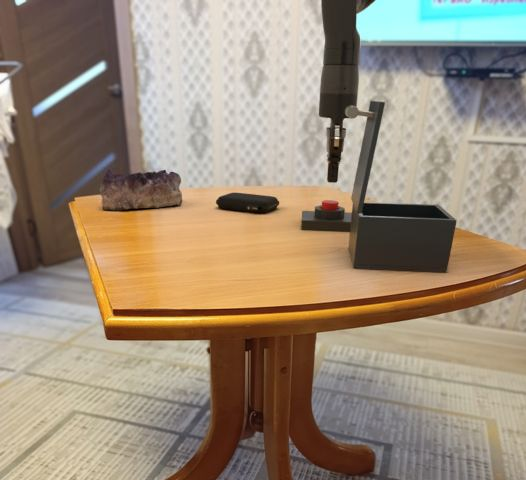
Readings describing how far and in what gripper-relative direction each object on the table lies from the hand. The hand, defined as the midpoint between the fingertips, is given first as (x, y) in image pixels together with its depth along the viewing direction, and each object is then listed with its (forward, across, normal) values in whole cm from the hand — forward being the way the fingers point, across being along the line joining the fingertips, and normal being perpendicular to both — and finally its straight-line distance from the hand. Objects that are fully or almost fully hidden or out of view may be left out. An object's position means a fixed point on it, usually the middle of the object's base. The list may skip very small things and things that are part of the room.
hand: (332, 181), depth 109 cm
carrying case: (+10, +15, +20) cm, 27 cm away
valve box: (+10, -24, -11) cm, 28 cm away
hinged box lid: (-8, -24, -4) cm, 26 cm away
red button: (+6, 0, 0) cm, 6 cm away
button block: (+10, 0, 0) cm, 10 cm away
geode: (+10, +13, +46) cm, 49 cm away
